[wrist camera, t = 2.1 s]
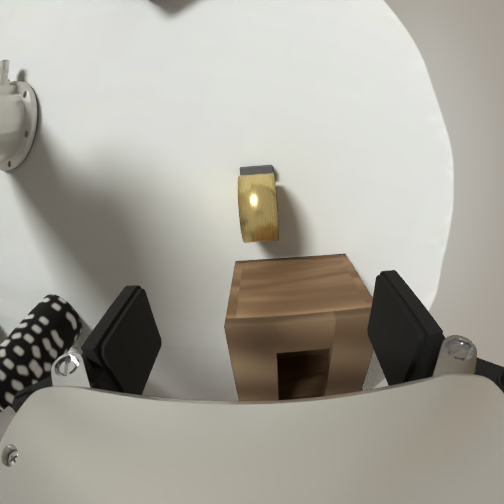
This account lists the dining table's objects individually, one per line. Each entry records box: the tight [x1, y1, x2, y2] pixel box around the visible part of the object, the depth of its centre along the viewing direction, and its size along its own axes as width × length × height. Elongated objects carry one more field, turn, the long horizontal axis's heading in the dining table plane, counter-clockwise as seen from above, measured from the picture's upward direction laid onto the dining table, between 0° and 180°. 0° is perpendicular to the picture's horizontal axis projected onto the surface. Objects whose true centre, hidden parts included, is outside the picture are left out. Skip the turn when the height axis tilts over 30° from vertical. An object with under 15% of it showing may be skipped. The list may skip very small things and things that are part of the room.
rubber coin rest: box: [240, 165, 273, 175], centre depth 27 cm, size 7×3×1 cm, turn 5°
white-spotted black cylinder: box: [0, 295, 82, 412], centre depth 26 cm, size 8×8×20 cm
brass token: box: [238, 173, 279, 243], centre depth 24 cm, size 3×6×6 cm, turn 5°
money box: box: [224, 254, 373, 401], centre depth 27 cm, size 15×12×11 cm
